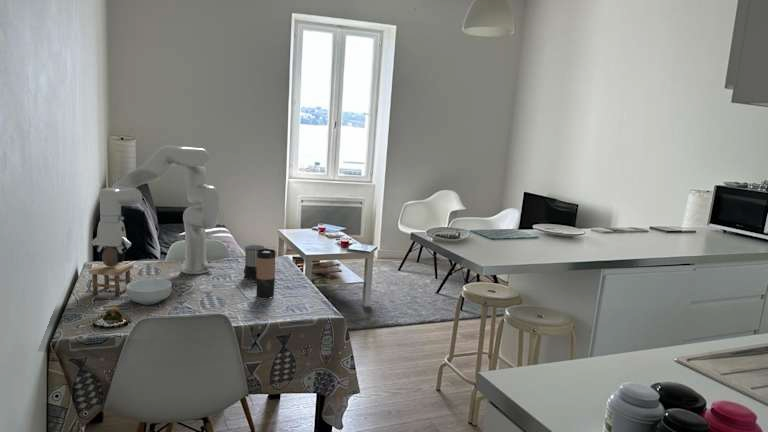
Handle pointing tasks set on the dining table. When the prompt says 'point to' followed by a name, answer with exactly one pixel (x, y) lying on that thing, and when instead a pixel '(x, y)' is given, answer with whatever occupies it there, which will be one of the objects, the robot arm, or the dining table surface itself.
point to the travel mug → (265, 273)
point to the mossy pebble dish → (113, 317)
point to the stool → (106, 272)
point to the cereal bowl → (148, 290)
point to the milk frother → (251, 260)
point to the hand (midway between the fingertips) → (111, 261)
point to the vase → (110, 256)
